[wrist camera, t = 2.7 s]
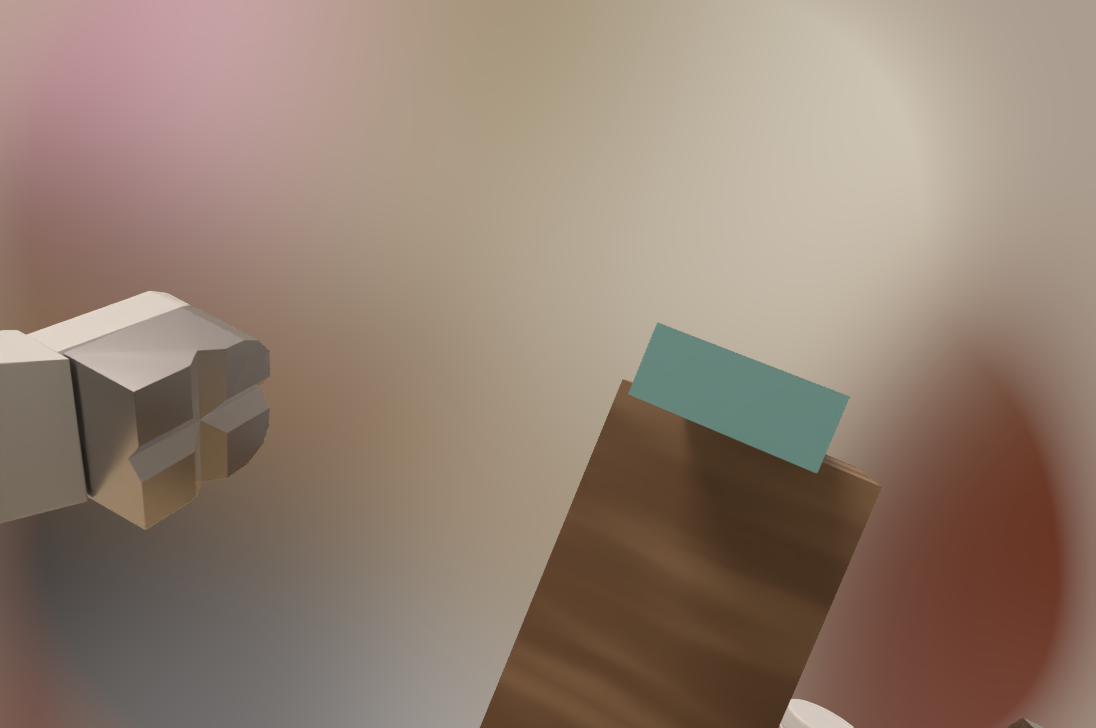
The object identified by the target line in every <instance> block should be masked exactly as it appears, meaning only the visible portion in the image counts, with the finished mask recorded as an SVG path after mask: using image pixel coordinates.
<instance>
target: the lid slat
mask: <svg viewBox="0 0 1096 728" xmlns="http://www.w3.org/2000/svg"><path fill="white" fill-rule="evenodd" d="M628 394H629V395H631V396H634V397H636V398H638V399H641V400H643V401H645V402H648V403H650V404H653V405H655V406H657V407H660V408H662V409H664V410H667V411H669V412H672V413H674V414H676V415H679V416H681V417H684V418H686V419H688V420H691V421H693V422H695V423H698V424H700V425H703V426H705V427H707V428H710V429H712V430H714V431H717V432H719V433H722V434H724V435H726V436H729V437H731V438H733V439H736V440H738V441H741V442H743V443H745V444H748V445H750V446H752V447H755V448H757V449H760V450H762V451H764V452H767V453H769V454H771V455H774V456H776V457H779V458H781V459H783V460H786V461H788V462H790V463H793V464H795V465H798V466H800V467H802V468H805V469H807V470H810V471H812V472H814V473H818V471H819V468H820V466H821V464H822V461H823V459H824V457H825V454H826V452H827V449H828V447H829V444H830V442H831V440H832V437H833V435H834V433H835V431H836V428H837V426H838V424H839V421H840V419H841V416H842V414H843V412H844V409H845V407H846V405H847V402H848V400H849V398H850V397H849V396H847V395H844V394H841V393H839V392H836V391H834V390H831V389H828V388H826V387H823V386H821V385H818V384H816V383H813V382H811V381H808V380H805V379H803V378H800V377H798V376H795V375H792V374H790V373H787V372H784V371H782V370H779V369H777V368H774V367H772V366H769V365H766V364H764V363H761V362H759V361H756V360H753V359H751V358H748V357H745V356H743V355H740V354H738V353H735V352H733V351H730V350H728V349H725V348H722V347H720V346H717V345H715V344H712V343H709V342H707V341H704V340H701V339H699V338H696V337H694V336H691V335H689V334H686V333H683V332H681V331H678V330H676V329H673V328H670V327H668V326H665V325H663V324H660V323H657V325H656V327H655V330H654V332H653V334H652V337H651V340H650V342H649V344H648V347H647V349H646V352H645V354H644V356H643V359H642V361H641V364H640V366H639V369H638V371H637V374H636V376H635V379H634V381H633V383H632V386H631V388H630V391H629V393H628Z"/></svg>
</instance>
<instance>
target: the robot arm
mask: <svg viewBox="0 0 1096 728" xmlns="http://www.w3.org/2000/svg"><path fill="white" fill-rule="evenodd" d="M269 377H270V358H269V350H268V349H267V348H266V347H265V346H264V345H263V344H262V343H260V341H259V340H257V339H255V338H253V337H251V336H249V335H247V334H245V333H243V332H242V331H240V330H238V329H236V328H234V327H232V326H230V325H228V324H227V323H225V322H223V321H221V320H219V319H217V318H215V317H213V316H211V315H209V314H208V313H206V312H204V311H202V310H200V309H198V308H194V307H192V306H191V305H189V304H187V303H185V302H183V301H181V300H179V299H177V298H176V297H173V296H172V295H170V294H168V293H163V292H155V291H148V292H146V293H143V294H140V295H137V296H134V297H131V298H129V299H126V300H123V301H120V302H117V303H115V304H112V305H109V306H106V307H104V308H100V309H98V310H95V311H92V312H89V313H86V314H84V315H81V316H78V317H75V318H73V319H70V320H67V321H64V322H61V323H58V324H55V325H53V326H50V327H47V328H44V329H41V330H39V331H36V332H33V333H30V334H27V335H25V334H23V333H21V332H20V331H18V330H2V331H0V523H3V522H7V521H10V520H15V519H18V518H23V517H26V516H30V515H35V514H39V513H42V512H46V511H50V510H54V509H58V508H62V507H66V506H70V505H74V504H78V503H82V502H86V501H87V500H88V497H89V498H91V499H93V500H95V501H96V502H98V503H100V504H101V505H103V506H105V507H107V508H108V509H110V510H112V511H114V512H115V513H117V514H119V515H120V516H122V517H124V518H126V519H127V520H129V521H131V522H132V523H134V524H136V525H138V526H139V527H141V528H143V529H145V530H146V529H148V528H149V527H151V526H153V525H154V524H156V523H157V522H159V521H161V520H162V519H164V518H165V517H167V516H168V515H170V514H171V513H173V512H175V511H176V510H178V509H179V508H180V507H182V506H184V505H186V504H187V503H189V502H190V501H192V500H193V499H195V498H196V496H197V493H198V490H199V488H200V485H201V482H204V481H210V480H216V479H222V478H227V477H229V476H231V475H232V474H234V473H235V472H236V471H238V470H239V469H241V468H242V467H244V466H245V465H247V464H248V463H249V461H250V460H251V459H252V457H253V456H254V455H255V453H256V452H257V451H258V450H259V448H260V447H261V445H262V444H263V442H264V438H265V436H266V433H267V430H268V427H269V406H268V404H267V402H266V399H265V397H264V395H263V393H262V391H261V389H260V386H261V385H262V384H263V383H264V382H265V381H266V380H267V379H268V378H269ZM1008 728H1043V727H1041V726H1039V725H1037V724H1035V723H1033V722H1031V721H1029V720H1027V719H1025V718H1022V719H1020V720H1018V721H1017V722H1015V723H1013V724H1011V725H1010V726H1009V727H1008Z"/></svg>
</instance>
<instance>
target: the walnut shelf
mask: <svg viewBox="0 0 1096 728" xmlns="http://www.w3.org/2000/svg"><path fill="white" fill-rule="evenodd" d="M632 383H633V382H630V381H627V380H622V382H621V385H620V387H619V389H618V392H617V394H616V397H615V399H614V402H613V404H612V407H611V409H610V411H609V414H608V416H607V419H606V421H605V424H604V426H603V429H602V431H601V433H600V436H599V438H598V441H597V443H596V446H595V448H594V450H593V453H592V455H591V458H590V460H589V463H588V465H587V468H586V470H585V472H584V475H583V477H582V480H581V482H580V485H579V487H578V490H577V492H576V494H575V497H574V499H573V502H572V504H571V507H570V509H569V512H568V514H567V517H566V519H565V521H564V524H563V526H562V529H561V531H560V534H559V536H558V538H557V541H556V543H555V546H554V548H553V551H552V553H551V556H550V558H549V560H548V563H547V565H546V568H545V570H544V573H543V575H542V577H541V580H540V582H539V585H538V587H537V590H536V592H535V595H534V597H533V599H532V602H531V604H530V607H529V609H528V612H527V614H526V616H525V619H524V621H523V624H522V626H521V629H520V631H519V634H518V636H517V639H516V641H515V643H514V646H513V649H512V651H511V653H510V656H509V658H508V661H507V663H506V666H505V668H504V670H503V673H502V675H501V677H500V680H499V683H498V685H497V687H496V690H495V692H494V695H493V697H492V700H491V702H490V704H489V707H488V709H487V712H486V714H485V717H484V719H483V722H482V724H481V726H480V728H779V726H780V723H781V721H782V719H783V716H784V714H785V712H786V709H787V707H788V705H789V702H790V700H791V698H792V695H793V693H794V691H795V688H796V686H797V684H798V681H799V679H800V677H801V674H802V672H803V670H804V667H805V665H806V663H807V660H808V658H809V656H810V653H811V651H812V649H813V646H814V644H815V642H816V639H817V637H818V635H819V632H820V630H821V628H822V625H823V623H824V621H825V618H826V616H827V614H828V611H829V609H830V607H831V604H832V602H833V600H834V597H835V594H836V593H837V590H838V588H839V586H840V583H841V581H842V578H843V576H844V574H845V572H846V569H847V567H848V565H849V562H850V560H851V558H852V555H853V553H854V551H855V548H856V546H857V544H858V541H859V539H860V537H861V534H862V532H863V530H864V527H865V525H866V523H867V520H868V518H869V516H870V513H871V511H872V509H873V506H874V504H875V502H876V499H877V497H878V495H879V492H880V490H881V488H882V487H881V486H880V485H878V484H877V483H876V482H874V481H873V480H871V479H870V478H869V477H868V476H866V475H865V474H864V473H863V472H861V471H860V470H859V469H857V468H856V467H855V466H852V465H850V464H847V463H845V462H842V461H840V460H837V459H835V458H833V457H830V456H828V455H825V457H824V459H823V461H822V464H821V466H820V468H819V471H818V473H814V472H812V471H810V470H807V469H805V468H802V467H800V466H798V465H795V464H793V463H790V462H788V461H786V460H783V459H781V458H779V457H776V456H774V455H771V454H769V453H767V452H764V451H762V450H760V449H757V448H755V447H752V446H750V445H748V444H745V443H743V442H741V441H738V440H736V439H733V438H731V437H729V436H726V435H724V434H722V433H719V432H717V431H714V430H712V429H710V428H707V427H705V426H703V425H700V424H698V423H695V422H693V421H691V420H688V419H686V418H684V417H681V416H679V415H676V414H674V413H672V412H669V411H667V410H664V409H662V408H660V407H657V406H655V405H653V404H650V403H648V402H645V401H643V400H641V399H638V398H636V397H634V396H631V395H629V394H628V393H629V391H630V388H631V386H632Z"/></svg>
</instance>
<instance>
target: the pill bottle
mask: <svg viewBox="0 0 1096 728" xmlns="http://www.w3.org/2000/svg"><path fill="white" fill-rule="evenodd" d="M780 728H854V727H853V726H851V725H850V724H849V723H847V722H846V721H845V720H843V719H842V718H840V717H839V716H837V715H835V714H834V713H832V712H830V711H828V710H826V709H824V708H823V707H820V706H818V705H816V704H813V703H811V702H808V701H804V700H800V699H791V700H790V702H789V705H788V707H787V709H786V712H785V714H784V716H783V719H782V721H781V723H780Z"/></svg>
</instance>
